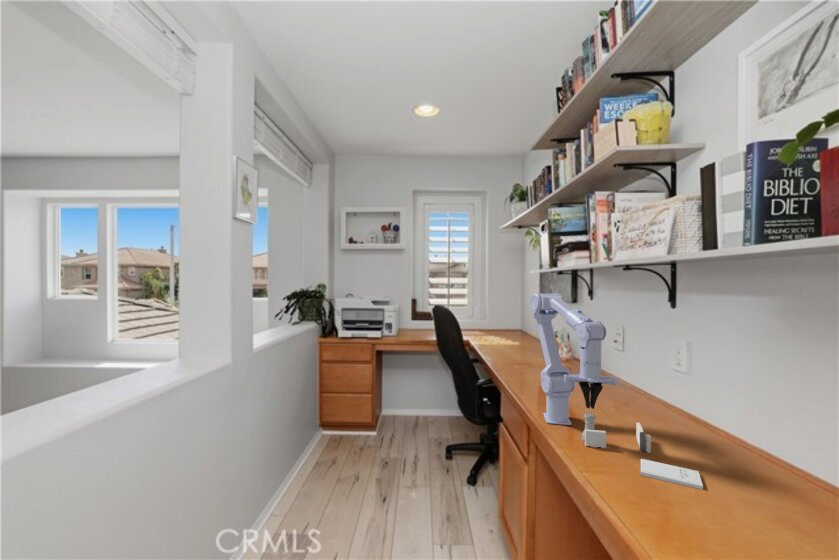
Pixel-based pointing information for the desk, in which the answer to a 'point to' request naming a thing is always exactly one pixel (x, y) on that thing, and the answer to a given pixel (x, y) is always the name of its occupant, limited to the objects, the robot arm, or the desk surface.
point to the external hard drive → (671, 473)
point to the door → (640, 436)
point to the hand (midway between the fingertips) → (589, 407)
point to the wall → (599, 439)
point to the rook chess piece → (588, 423)
